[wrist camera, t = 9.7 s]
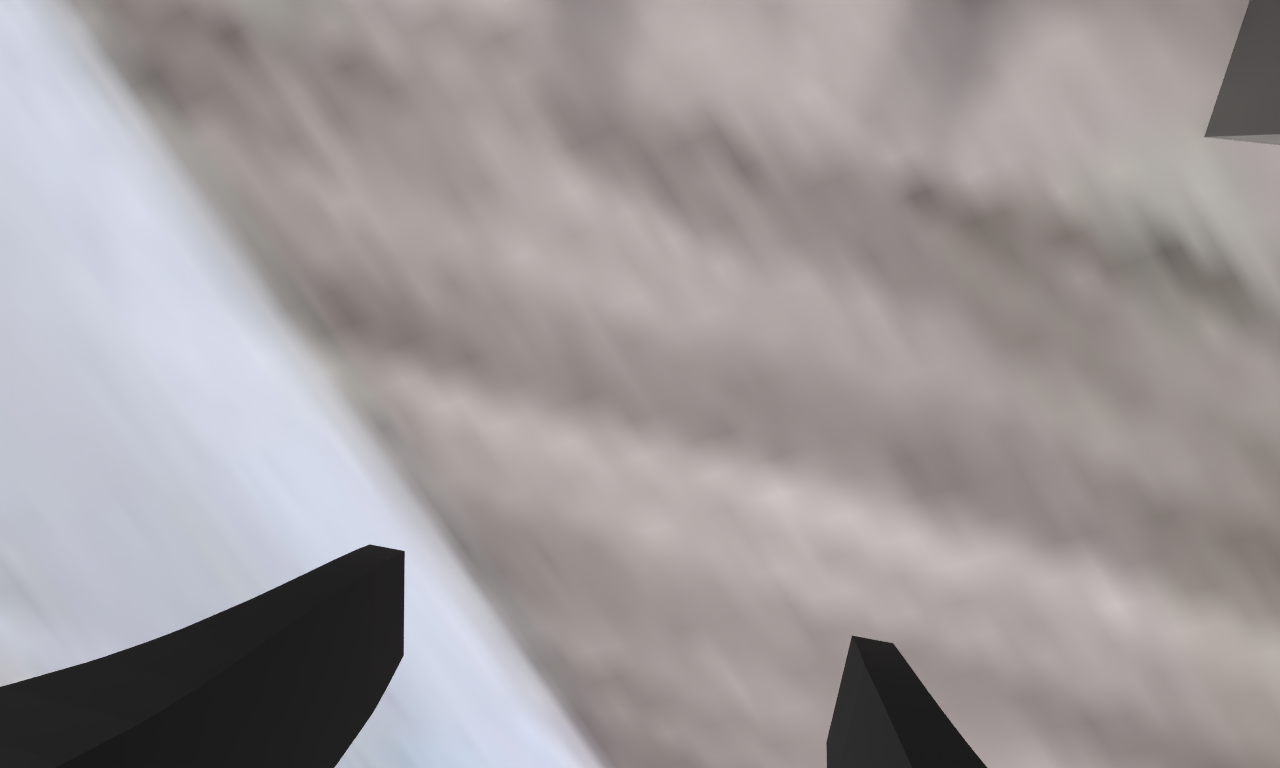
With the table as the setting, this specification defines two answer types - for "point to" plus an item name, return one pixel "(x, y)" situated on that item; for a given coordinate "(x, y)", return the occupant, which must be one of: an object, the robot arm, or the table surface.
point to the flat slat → (1252, 80)
